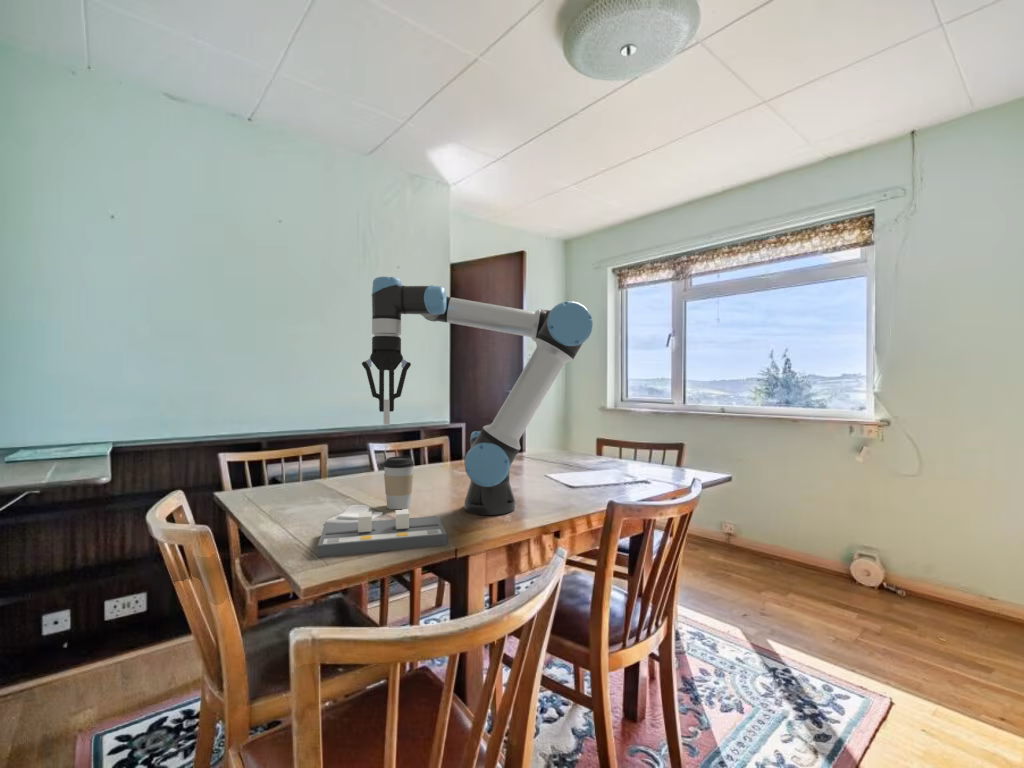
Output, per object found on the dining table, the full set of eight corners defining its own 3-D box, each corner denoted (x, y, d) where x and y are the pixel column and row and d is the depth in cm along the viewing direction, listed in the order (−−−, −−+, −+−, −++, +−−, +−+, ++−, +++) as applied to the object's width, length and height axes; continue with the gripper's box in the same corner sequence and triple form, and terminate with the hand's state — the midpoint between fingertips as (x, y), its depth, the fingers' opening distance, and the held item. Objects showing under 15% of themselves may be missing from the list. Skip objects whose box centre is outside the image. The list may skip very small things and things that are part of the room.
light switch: (384, 503, 136) (364, 513, 123) (383, 517, 136) (364, 529, 123) (348, 501, 137) (325, 511, 124) (347, 516, 137) (324, 527, 124)
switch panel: (438, 525, 125) (438, 515, 125) (446, 544, 110) (446, 533, 110) (324, 534, 117) (324, 523, 117) (317, 557, 102) (317, 544, 102)
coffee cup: (398, 512, 136) (398, 460, 136) (376, 507, 141) (376, 457, 141) (420, 505, 144) (420, 456, 144) (398, 501, 149) (398, 453, 148)
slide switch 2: (407, 523, 117) (407, 509, 117) (409, 528, 113) (409, 513, 113) (395, 524, 116) (395, 510, 116) (396, 529, 112) (396, 514, 112)
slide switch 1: (371, 526, 115) (371, 511, 115) (371, 531, 111) (371, 516, 111) (358, 527, 114) (358, 512, 114) (358, 532, 110) (358, 517, 110)
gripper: (410, 337, 132) (410, 422, 133) (361, 336, 129) (361, 423, 129) (412, 335, 125) (412, 424, 126) (360, 334, 121) (360, 425, 122)
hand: (386, 423), depth 127 cm, fingers closed
